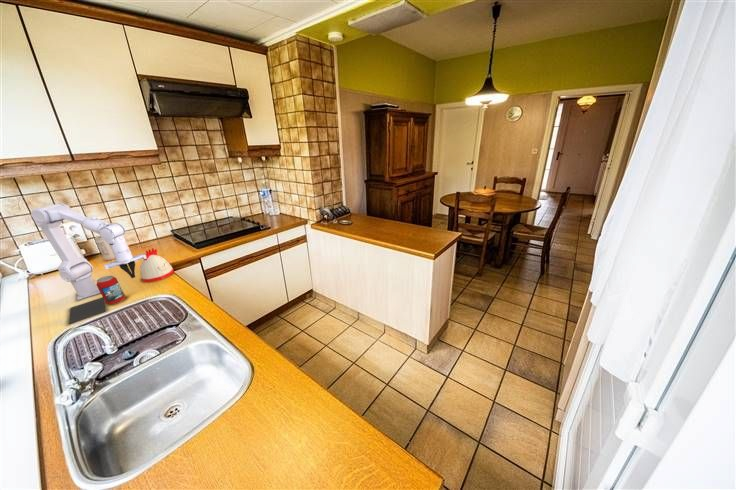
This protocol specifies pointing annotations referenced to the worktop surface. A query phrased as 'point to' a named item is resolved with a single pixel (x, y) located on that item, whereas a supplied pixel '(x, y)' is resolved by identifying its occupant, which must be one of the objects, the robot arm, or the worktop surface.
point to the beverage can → (110, 290)
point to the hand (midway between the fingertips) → (133, 277)
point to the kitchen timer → (154, 267)
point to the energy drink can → (104, 249)
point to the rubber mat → (87, 310)
